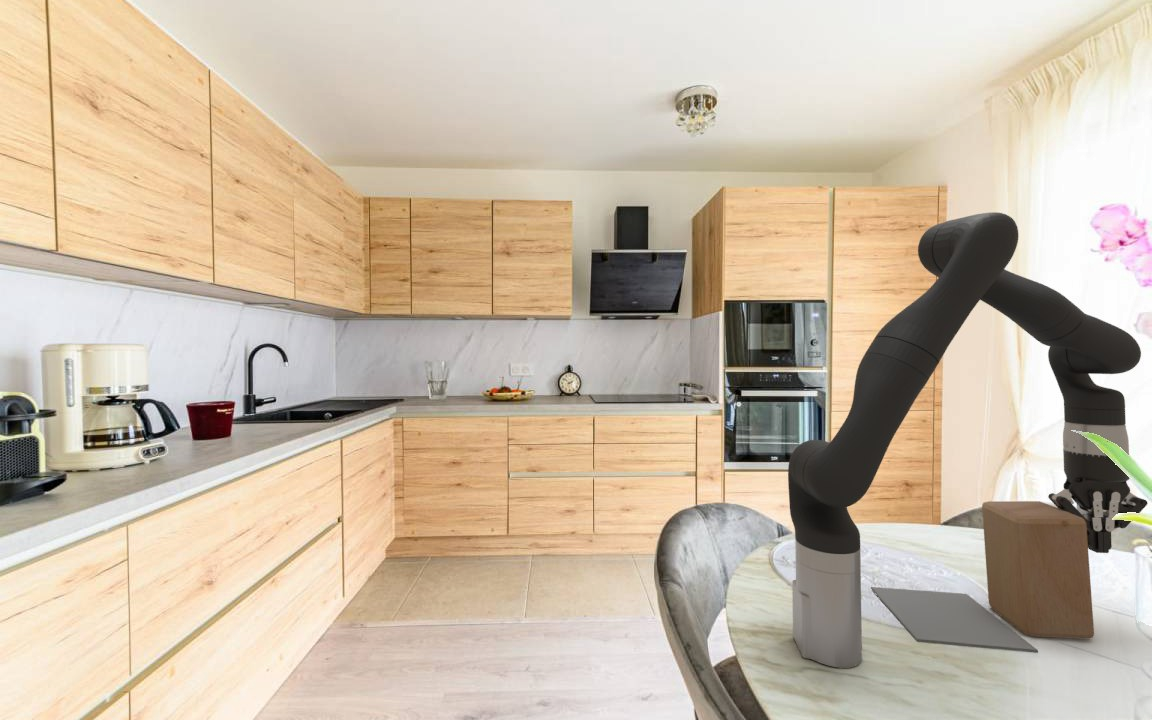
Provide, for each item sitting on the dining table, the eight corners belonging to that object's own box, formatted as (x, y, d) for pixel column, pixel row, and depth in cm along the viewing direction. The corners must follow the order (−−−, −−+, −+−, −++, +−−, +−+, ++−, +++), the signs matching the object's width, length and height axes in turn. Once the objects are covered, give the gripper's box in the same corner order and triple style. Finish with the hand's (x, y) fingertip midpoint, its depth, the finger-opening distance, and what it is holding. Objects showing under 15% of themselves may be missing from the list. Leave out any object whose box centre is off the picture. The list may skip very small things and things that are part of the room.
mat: (917, 641, 77) (916, 638, 77) (870, 588, 95) (870, 586, 95) (1037, 652, 74) (1037, 649, 74) (966, 595, 92) (966, 593, 92)
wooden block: (1098, 642, 76) (1089, 518, 76) (1025, 638, 78) (1017, 517, 78) (1049, 609, 85) (1041, 499, 86) (986, 607, 87) (978, 499, 88)
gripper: (1067, 453, 77) (1070, 558, 77) (1165, 454, 75) (1168, 562, 75) (1032, 445, 85) (1035, 541, 85) (1120, 445, 82) (1124, 544, 82)
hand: (1098, 551), depth 80 cm, fingers closed
